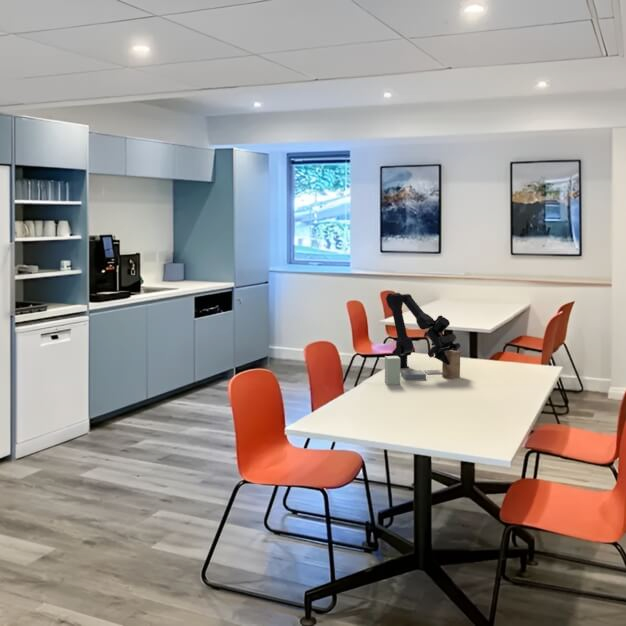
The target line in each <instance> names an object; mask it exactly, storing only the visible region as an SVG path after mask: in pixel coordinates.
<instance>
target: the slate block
mask: <svg viewBox="0 0 626 626" xmlns="http://www.w3.org/2000/svg"><path fill="white" fill-rule="evenodd" d="M400 377H402V378H403V380H405V381H416V380H417V381H419V380H420V381H421V380H427V373H425V372H424V370H420V369H417V370H416V369H415V370H413V369H412V370H411V369H410V370H400Z"/></svg>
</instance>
